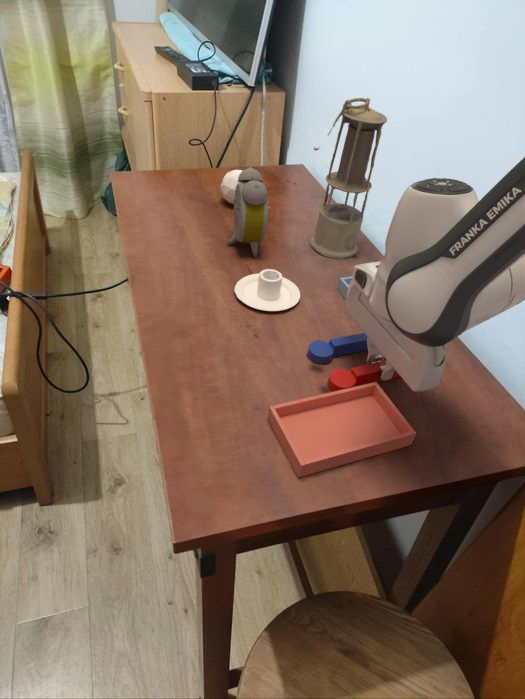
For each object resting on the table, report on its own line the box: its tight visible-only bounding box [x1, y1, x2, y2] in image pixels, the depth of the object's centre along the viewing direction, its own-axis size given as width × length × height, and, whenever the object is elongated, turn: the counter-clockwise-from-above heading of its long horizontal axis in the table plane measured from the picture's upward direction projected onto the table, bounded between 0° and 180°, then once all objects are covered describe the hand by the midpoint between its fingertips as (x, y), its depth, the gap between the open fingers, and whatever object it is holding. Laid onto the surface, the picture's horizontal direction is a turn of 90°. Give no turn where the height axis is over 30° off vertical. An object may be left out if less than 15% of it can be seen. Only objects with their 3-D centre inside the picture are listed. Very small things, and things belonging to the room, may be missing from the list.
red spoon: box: [327, 360, 401, 392], centre depth 78 cm, size 13×4×2 cm, turn 112°
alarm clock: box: [226, 166, 269, 258], centre depth 102 cm, size 12×7×15 cm, turn 9°
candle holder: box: [233, 268, 301, 312], centre depth 92 cm, size 12×12×4 cm
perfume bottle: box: [220, 169, 244, 205], centre depth 120 cm, size 8×8×12 cm
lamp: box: [309, 97, 388, 260], centre depth 100 cm, size 10×13×30 cm
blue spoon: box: [307, 332, 368, 365], centre depth 83 cm, size 13×4×2 cm, turn 112°
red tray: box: [267, 382, 417, 478], centre depth 69 cm, size 17×10×2 cm, turn 112°
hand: (378, 370), depth 78 cm, fingers closed on red spoon, 2 cm apart
